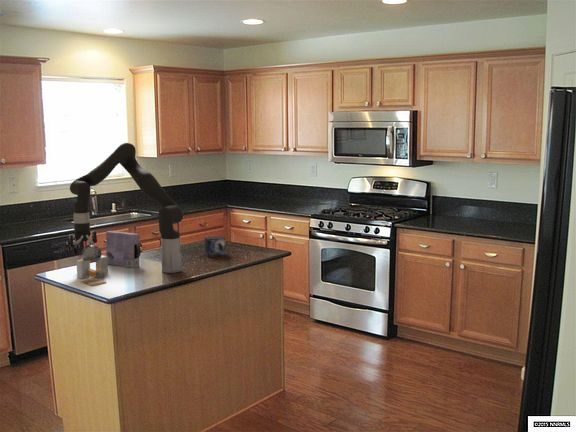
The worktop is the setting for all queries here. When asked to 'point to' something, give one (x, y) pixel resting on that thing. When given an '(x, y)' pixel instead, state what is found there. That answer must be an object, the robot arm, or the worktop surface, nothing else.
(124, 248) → the cake pan box
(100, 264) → the housing
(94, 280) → the trivet
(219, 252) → the small box
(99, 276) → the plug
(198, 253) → the worktop surface
